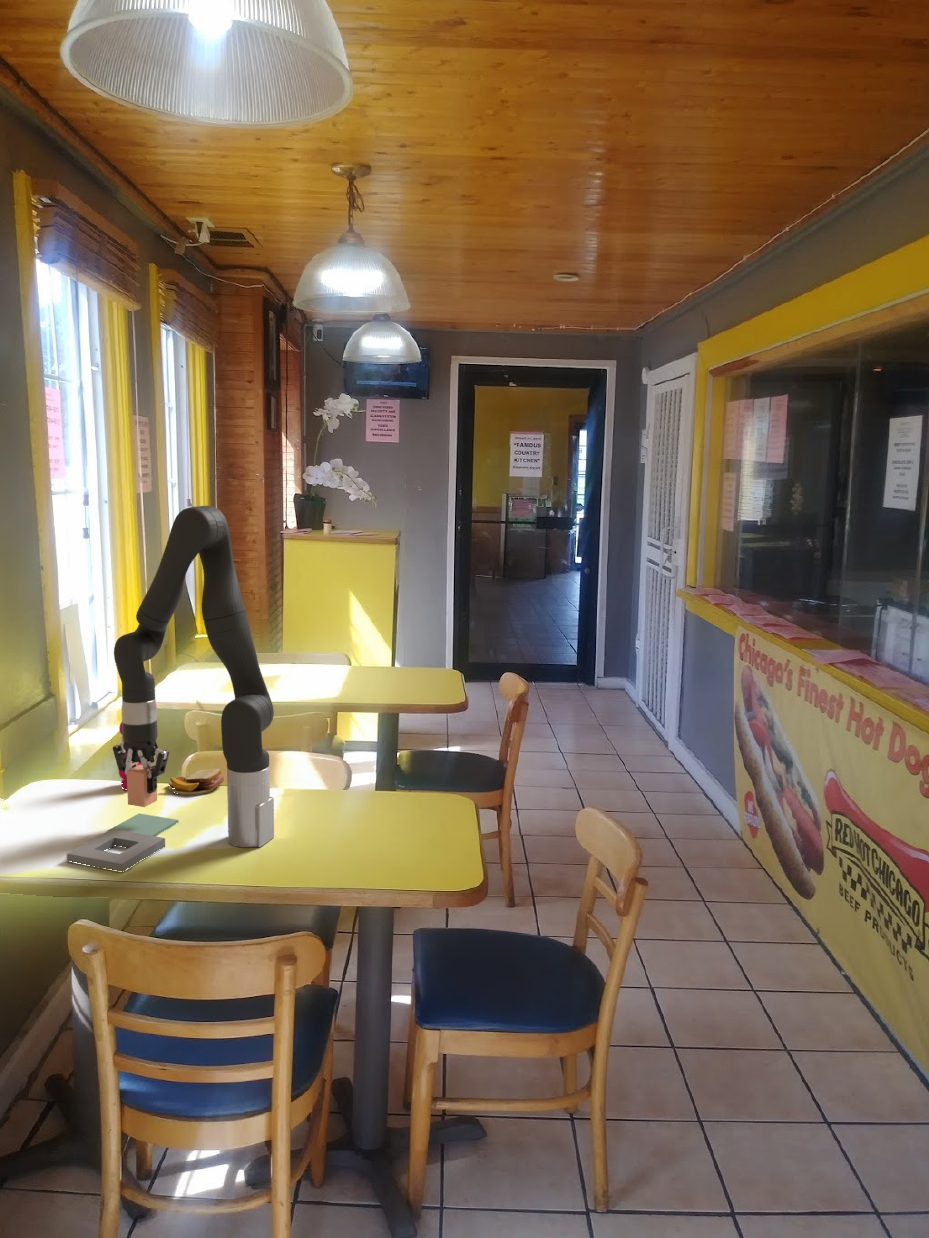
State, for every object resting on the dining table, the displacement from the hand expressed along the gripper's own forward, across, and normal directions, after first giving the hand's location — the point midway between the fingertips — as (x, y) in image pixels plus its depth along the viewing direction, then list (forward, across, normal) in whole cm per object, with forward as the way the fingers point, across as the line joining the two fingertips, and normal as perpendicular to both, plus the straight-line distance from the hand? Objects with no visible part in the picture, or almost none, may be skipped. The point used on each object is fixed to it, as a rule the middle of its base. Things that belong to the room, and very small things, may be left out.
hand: (142, 790), depth 209 cm
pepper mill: (+9, +19, -21) cm, 30 cm away
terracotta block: (+3, 0, 0) cm, 3 cm away
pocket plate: (+9, -4, +14) cm, 17 cm away
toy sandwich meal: (+10, +4, -27) cm, 29 cm away
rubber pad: (+9, 0, 0) cm, 9 cm away
